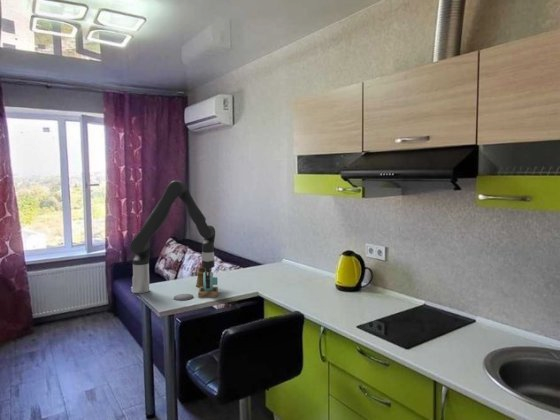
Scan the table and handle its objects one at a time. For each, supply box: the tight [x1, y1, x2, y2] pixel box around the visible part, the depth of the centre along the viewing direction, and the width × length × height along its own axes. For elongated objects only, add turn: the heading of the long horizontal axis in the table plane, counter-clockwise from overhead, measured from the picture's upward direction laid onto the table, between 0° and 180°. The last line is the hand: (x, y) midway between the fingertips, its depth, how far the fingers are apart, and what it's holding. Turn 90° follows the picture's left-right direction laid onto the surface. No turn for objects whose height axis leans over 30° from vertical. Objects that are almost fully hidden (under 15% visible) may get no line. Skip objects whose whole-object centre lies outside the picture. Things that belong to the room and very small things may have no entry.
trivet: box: [173, 293, 194, 302], centre depth 226 cm, size 11×11×1 cm
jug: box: [203, 271, 218, 292], centre depth 232 cm, size 8×6×13 cm
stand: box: [197, 286, 219, 298], centre depth 233 cm, size 11×11×3 cm
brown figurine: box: [195, 267, 206, 289], centre depth 249 cm, size 9×14×18 cm, turn 43°
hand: (208, 286), depth 232 cm, fingers open, 7 cm apart
